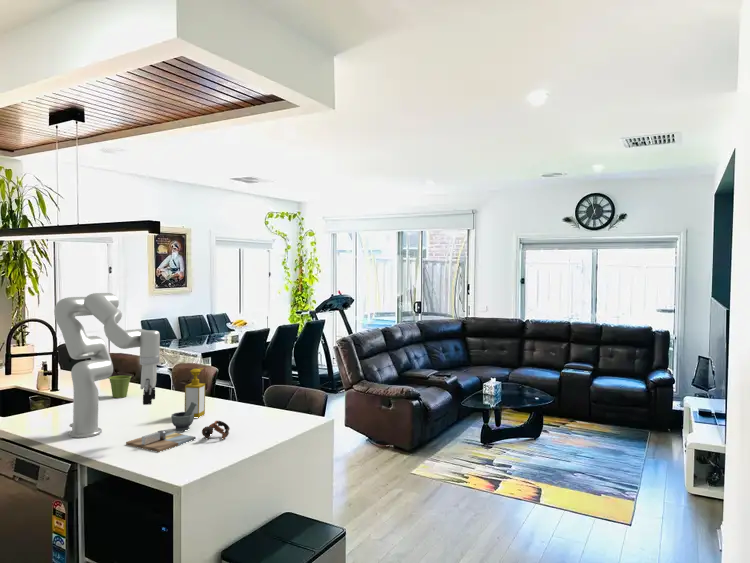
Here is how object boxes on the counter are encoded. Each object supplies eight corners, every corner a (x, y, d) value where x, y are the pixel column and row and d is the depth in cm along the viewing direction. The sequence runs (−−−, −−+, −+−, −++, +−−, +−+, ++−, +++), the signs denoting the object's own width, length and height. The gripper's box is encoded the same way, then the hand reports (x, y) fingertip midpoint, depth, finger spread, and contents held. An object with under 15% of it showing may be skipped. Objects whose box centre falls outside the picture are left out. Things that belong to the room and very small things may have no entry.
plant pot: (135, 396, 303) (135, 376, 303) (116, 400, 293) (116, 379, 293) (123, 393, 310) (123, 374, 310) (103, 397, 300) (104, 377, 300)
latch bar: (161, 437, 221) (161, 429, 221) (167, 438, 220) (167, 431, 220) (140, 443, 212) (140, 436, 212) (146, 445, 211) (146, 437, 211)
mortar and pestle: (175, 433, 232) (175, 406, 232) (167, 429, 239) (168, 402, 239) (200, 429, 239) (200, 403, 239) (192, 425, 246) (192, 399, 246)
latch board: (125, 444, 215) (125, 441, 215) (163, 433, 232) (163, 430, 232) (159, 452, 207) (159, 449, 207) (195, 439, 224) (195, 436, 224)
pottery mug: (214, 434, 233) (224, 419, 233) (225, 448, 228) (235, 432, 228) (193, 434, 223) (203, 417, 223) (204, 448, 218) (214, 431, 218)
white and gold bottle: (209, 412, 271) (210, 366, 271) (198, 418, 258) (199, 370, 258) (195, 411, 271) (196, 365, 271) (184, 417, 259) (185, 369, 259)
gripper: (143, 357, 226) (142, 397, 226) (136, 363, 210) (135, 407, 209) (162, 357, 228) (161, 397, 228) (156, 363, 211) (155, 406, 211)
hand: (149, 401), depth 219 cm, fingers open, 9 cm apart
